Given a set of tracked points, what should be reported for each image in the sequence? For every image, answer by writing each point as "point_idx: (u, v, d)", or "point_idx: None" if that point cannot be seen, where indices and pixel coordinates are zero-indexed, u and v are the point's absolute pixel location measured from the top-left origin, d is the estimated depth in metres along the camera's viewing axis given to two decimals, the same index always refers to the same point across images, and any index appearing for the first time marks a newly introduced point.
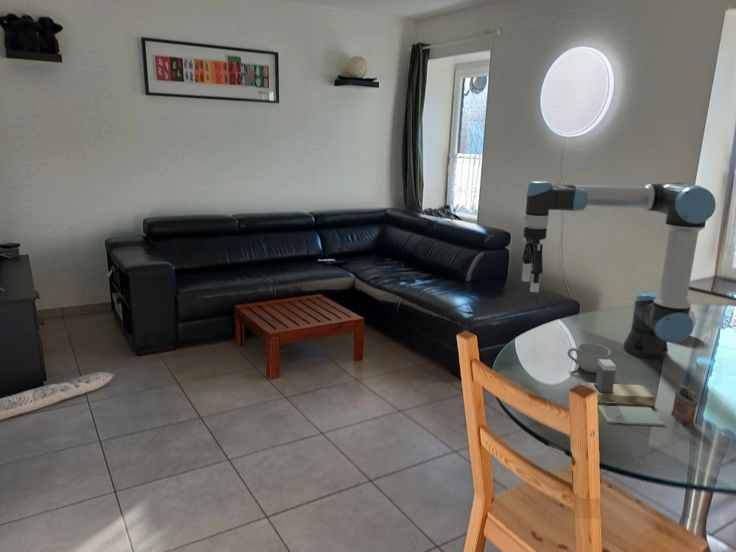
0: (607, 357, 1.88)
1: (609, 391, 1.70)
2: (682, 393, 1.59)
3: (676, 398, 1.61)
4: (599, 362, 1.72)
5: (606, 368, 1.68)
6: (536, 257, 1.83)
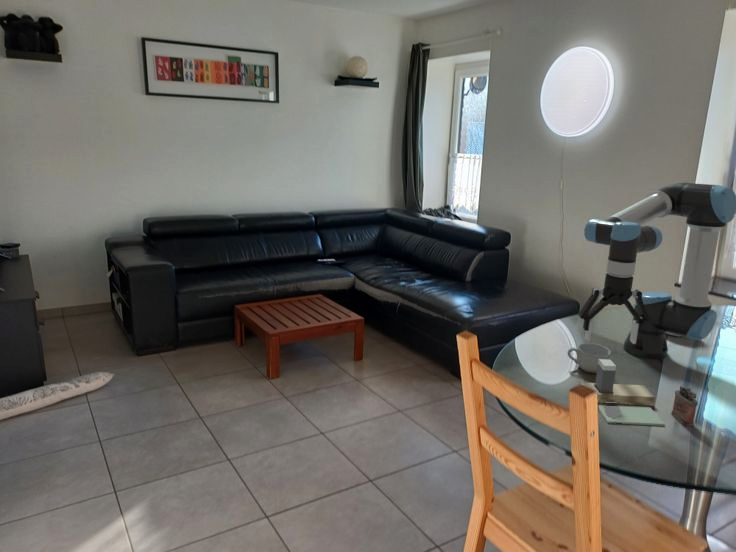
0: (607, 357, 1.88)
1: (609, 391, 1.70)
2: (682, 393, 1.59)
3: (676, 398, 1.61)
4: (599, 362, 1.72)
5: (606, 368, 1.68)
6: (587, 301, 1.66)
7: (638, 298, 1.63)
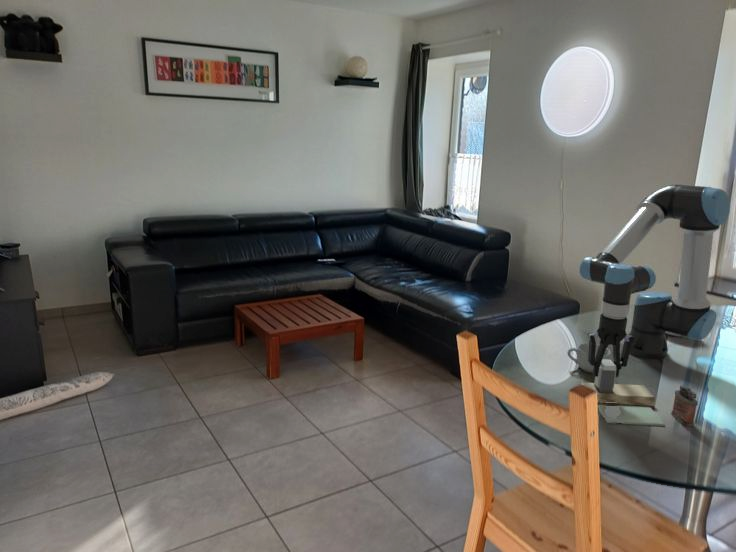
0: (607, 357, 1.88)
1: (609, 391, 1.70)
2: (682, 393, 1.59)
3: (676, 398, 1.61)
4: None
5: (606, 368, 1.68)
6: (589, 347, 1.70)
7: (628, 342, 1.67)
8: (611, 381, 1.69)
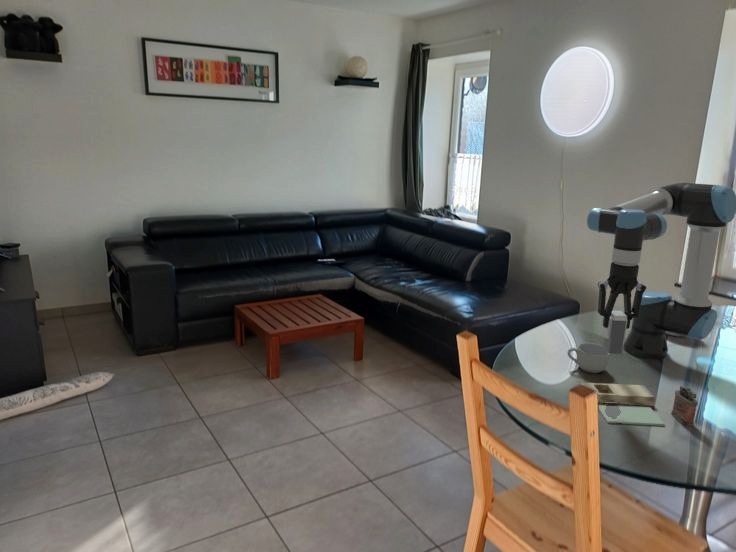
0: (607, 357, 1.88)
1: (619, 343, 1.64)
2: (682, 393, 1.59)
3: (676, 398, 1.61)
4: None
5: (616, 318, 1.62)
6: (599, 297, 1.64)
7: (640, 291, 1.61)
8: (622, 332, 1.63)
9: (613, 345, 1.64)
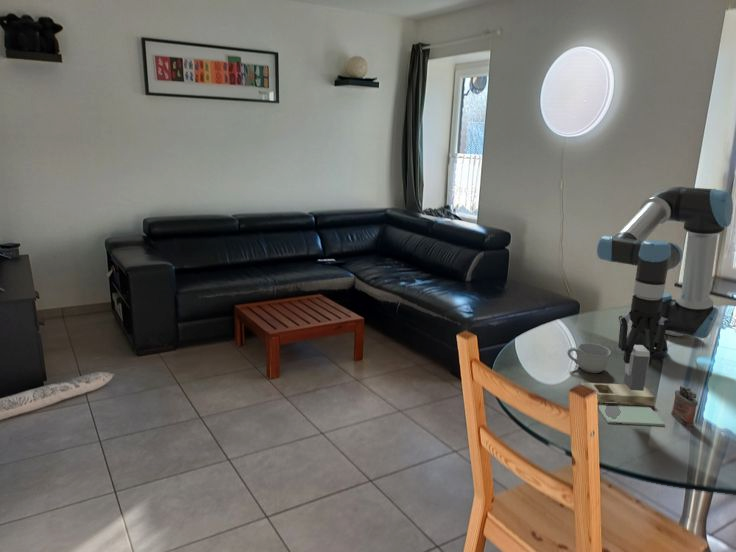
0: (607, 357, 1.88)
1: (641, 379, 1.56)
2: (682, 393, 1.59)
3: (676, 398, 1.61)
4: None
5: (639, 354, 1.55)
6: (620, 331, 1.57)
7: (663, 326, 1.54)
8: (644, 368, 1.56)
9: (635, 382, 1.57)
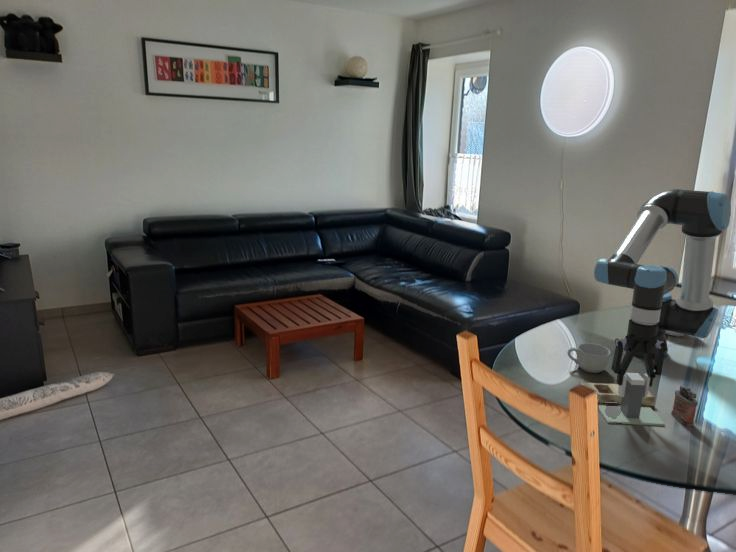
0: (607, 357, 1.88)
1: (637, 407, 1.59)
2: (682, 393, 1.59)
3: (676, 398, 1.61)
4: None
5: (634, 382, 1.57)
6: (615, 354, 1.58)
7: (660, 349, 1.55)
8: (639, 396, 1.58)
9: (630, 410, 1.59)
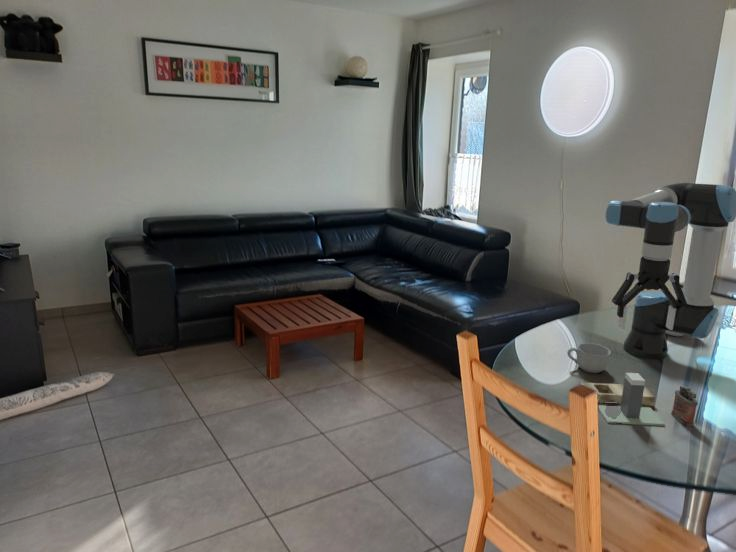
0: (607, 357, 1.88)
1: (637, 407, 1.59)
2: (682, 393, 1.59)
3: (676, 398, 1.61)
4: (626, 376, 1.61)
5: (634, 383, 1.57)
6: (621, 286, 1.59)
7: (675, 282, 1.55)
8: (639, 397, 1.58)
9: (630, 410, 1.59)
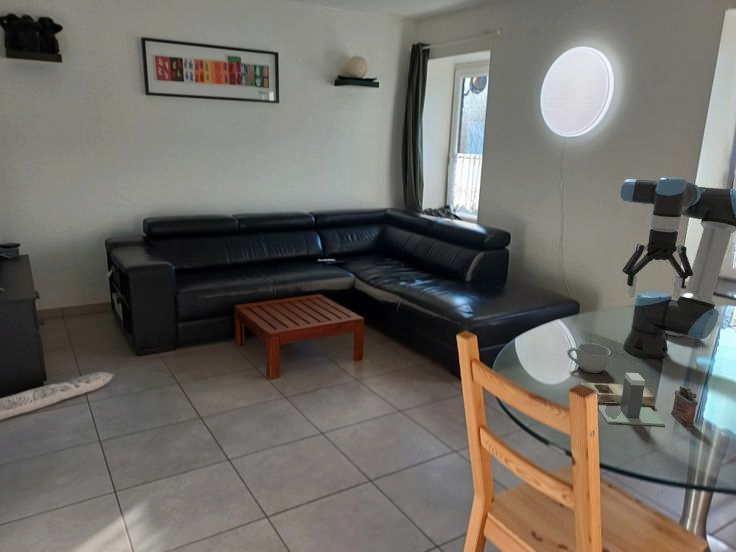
0: (607, 357, 1.88)
1: (637, 407, 1.59)
2: (682, 393, 1.59)
3: (676, 398, 1.61)
4: (626, 376, 1.61)
5: (634, 383, 1.57)
6: (631, 257, 1.69)
7: (682, 253, 1.66)
8: (639, 397, 1.58)
9: (630, 410, 1.59)
